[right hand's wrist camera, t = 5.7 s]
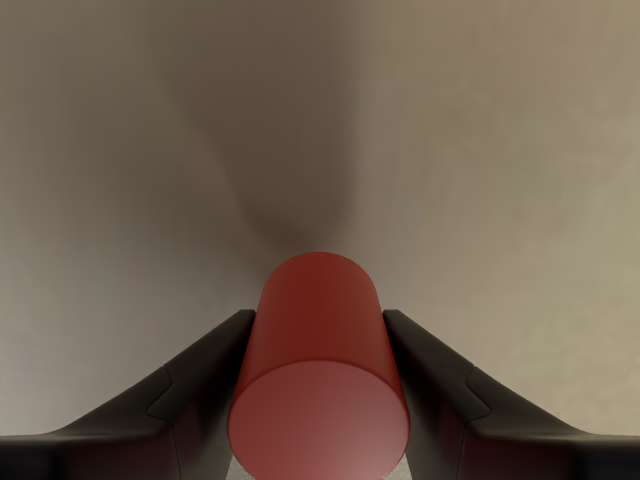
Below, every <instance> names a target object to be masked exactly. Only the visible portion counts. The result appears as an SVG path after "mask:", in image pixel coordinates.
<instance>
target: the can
mask: <svg viewBox="0 0 640 480" xmlns="http://www.w3.org/2000/svg"><path fill="white" fill-rule="evenodd" d="M226 428H227V436H228V440H229V444H230V447H231V449H232V451H233V454H234V456H235V457H236V459H237V460H238V462H239V463H240V465H241V466H242V467H243V468H244V469H245V470H246V471H247V472H248V473H249V474H250V475H251V476H252V477H254V478H255V479H256V480H381V479H383V478H384V477H385V476H386V475H387V474H389V473H390V472H391V471H392V470H393V469H394V467H395V466H396V465H397V464H398V463H399V461H400V460H401V458H402V457H403V455H404V453H405V450H406V448H407V445H408V442H409V438H410V432H411V419H410V414H409V410H408V406H407V402H406V399H405V395H404V391H403V388H402V384H401V380H400V377H399V373H398V369H397V366H396V362H395V359H394V355H393V351H392V348H391V344H390V340H389V337H388V333H387V329H386V326H385V322H384V319H383V315H382V311H381V308H380V304H379V300H378V297H377V293H376V289H375V287H374V285H373V282H372V281H371V279H370V277H369V276H368V275H367V273H366V272H365V271H364V270H363V269H362V268H361V267H360V266H359V265H357V264H356V263H354V262H353V261H351V260H349V259H347V258H345V257H343V256H340V255H337V254H333V253H326V252H312V253H306V254H302V255H298V256H296V257H293V258H291V259H289V260H287V261H285V262H284V263H283V264H281V265H280V266H279V267H278V268H276V269H275V270H274V271H273V273H272V274H271V275H270V276H269V278H268V280H267V281H266V283H265V286H264V288H263V291H262V294H261V298H260V301H259V305H258V309H257V312H256V316H255V319H254V323H253V326H252V330H251V333H250V337H249V340H248V344H247V347H246V351H245V354H244V358H243V361H242V365H241V368H240V372H239V375H238V379H237V382H236V386H235V389H234V393H233V397H232V400H231V404H230V407H229V411H228V415H227V426H226Z"/></svg>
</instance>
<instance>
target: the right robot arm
mask: <svg viewBox="0 0 640 480" xmlns="http://www.w3.org/2000/svg"><path fill="white" fill-rule="evenodd" d="M382 315H383V319H384V322H385V326H386V329H387V333H388V337H389V340H390V344H391V348H392V351H393V355H394V359H395V362H396V366H397V369H398V373H399V377H400V380H401V384H402V388H403V391H404V395H405V399H406V402H407V406H408V410H409V414H410V419H411V432H410V438H409V442H408V445H407V448H406V450H405V454H406V458H407V461H408V465H409V469H410V472H411V476H412V480H640V436H624V435H598V434H592V433H588V432H585V431H581V430H579V429H577V428H574V427H572V426H570V425H568V424H567V423H565V422H563V421H561V420H560V419H558V418H556V417H555V416H553V415H551V414H550V413H548V412H546V411H545V410H543V409H541V408H540V407H538V406H536V405H535V404H533V403H531V402H530V401H528V400H526V399H525V398H523V397H521V396H520V395H518V394H517V393H515V392H513V391H512V390H510V389H509V388H507V387H505V386H504V385H502V384H501V383H499V382H498V381H496V380H495V379H493V378H492V377H490V376H489V375H488V374H486V373H485V372H483V371H482V370H481V369H479V368H478V367H476V366H475V367H474V364H472V363H471V362H469V361H468V360H467V359H465V358H464V357H462V356H461V355H460V354H458V353H457V352H456V351H454V350H453V349H451V348H450V347H449V346H447V345H446V344H444V343H443V342H442V341H440V340H439V339H438V338H436V337H435V336H433V335H432V334H431V333H429V332H428V331H426V330H425V329H424V328H422V327H421V326H420V325H418V324H417V323H415V322H414V321H413V320H411V319H410V318H408V317H407V316H406V315H404V314H403V313H402V312H400V311H399V310H384V311H383V314H382ZM255 316H256V312H255V310H240V311H238V312H237V313H236V314H234V315H233V316H231V317H230V318H229V319H227V320H226V321H224V322H223V323H222V324H220V325H219V326H217V327H216V328H215V329H213V330H212V331H210V332H209V333H208V334H206V335H205V336H203V337H202V338H201V339H199V340H198V341H196V342H195V343H194V344H192V345H191V346H189V347H188V348H187V349H185V350H184V351H182V352H181V353H180V354H178V355H177V356H175V357H174V358H173V359H171V360H170V361H168V362H167V363H166V364H164V366H161V367H160V368H159V369H157V370H156V371H154V372H153V373H152V374H150V375H149V376H147V377H146V378H144V379H143V380H141V381H140V382H138V383H137V384H135V385H134V386H132V387H131V388H129V389H127V390H126V391H124V392H123V393H121V394H119V395H118V396H116V397H114V398H113V399H111V400H109V401H108V402H106V403H104V404H103V405H101V406H99V407H98V408H96V409H94V410H93V411H91V412H89V413H88V414H86V415H84V416H83V417H81V418H79V419H78V420H76V421H74V422H72V423H71V424H69V425H67V426H65V427H63V428H61V429H58V430H56V431H52V432H49V433H45V434H38V435H13V436H0V480H226V476H227V472H228V469H229V465H230V462H231V458H232V454H233V451H232V449H231V447H230V444H229V440H228V436H227V428H226V426H227V415H228V411H229V407H230V404H231V400H232V397H233V393H234V389H235V386H236V382H237V379H238V375H239V372H240V368H241V365H242V361H243V358H244V354H245V351H246V347H247V344H248V340H249V337H250V333H251V330H252V326H253V323H254V319H255Z"/></svg>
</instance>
